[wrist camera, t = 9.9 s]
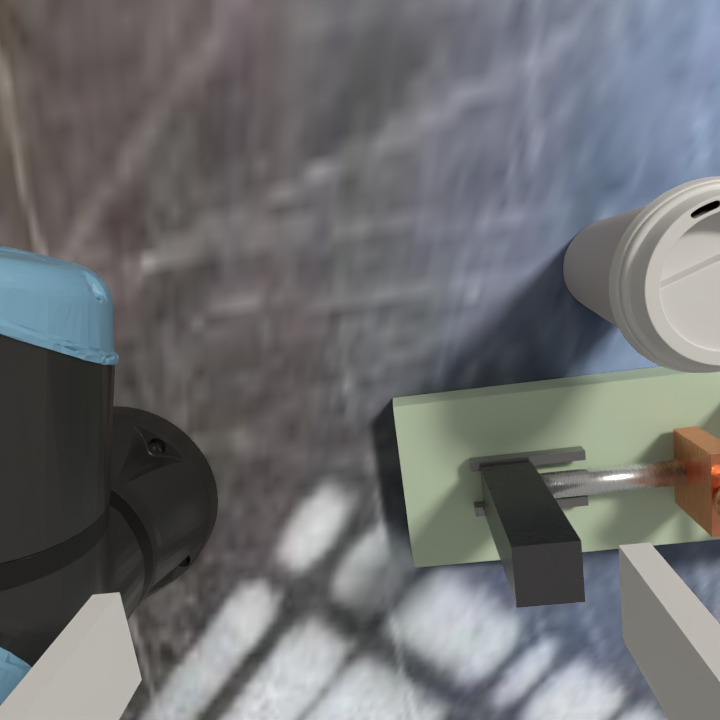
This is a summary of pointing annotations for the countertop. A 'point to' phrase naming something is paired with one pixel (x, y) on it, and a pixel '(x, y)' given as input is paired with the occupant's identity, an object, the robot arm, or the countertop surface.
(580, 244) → the coffee cup
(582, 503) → the rail guide
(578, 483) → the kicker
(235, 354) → the countertop surface
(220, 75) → the countertop surface
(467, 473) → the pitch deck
